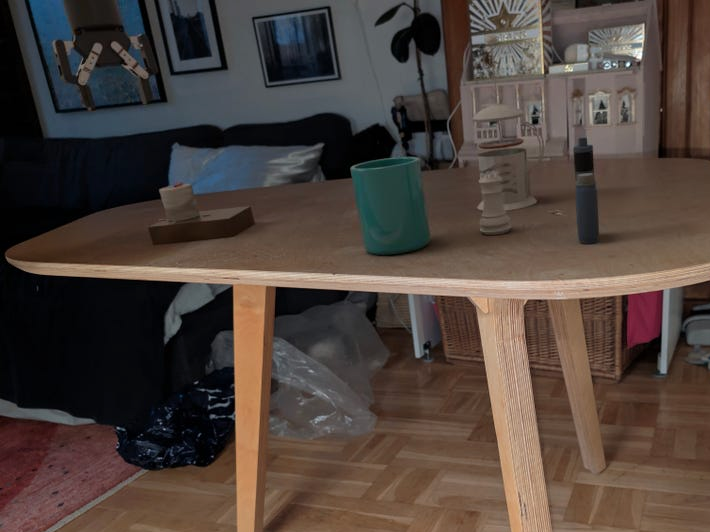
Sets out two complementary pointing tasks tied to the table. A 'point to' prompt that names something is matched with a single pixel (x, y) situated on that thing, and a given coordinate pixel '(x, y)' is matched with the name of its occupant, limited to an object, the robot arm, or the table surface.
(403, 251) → the cup
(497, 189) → the rook chess piece
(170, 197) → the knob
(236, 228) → the panel
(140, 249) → the table surface
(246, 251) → the table surface
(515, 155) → the french press
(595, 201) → the vaping device
